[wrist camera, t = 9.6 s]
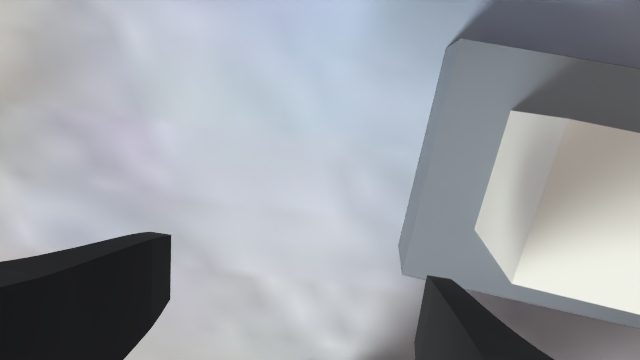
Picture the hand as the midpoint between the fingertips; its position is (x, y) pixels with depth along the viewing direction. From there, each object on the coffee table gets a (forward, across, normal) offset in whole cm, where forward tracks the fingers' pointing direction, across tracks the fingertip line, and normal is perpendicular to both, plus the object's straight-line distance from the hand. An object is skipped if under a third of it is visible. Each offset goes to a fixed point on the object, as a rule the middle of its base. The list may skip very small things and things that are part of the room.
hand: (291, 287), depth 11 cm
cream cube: (+7, -9, -2) cm, 12 cm away
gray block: (+11, -9, -2) cm, 14 cm away
